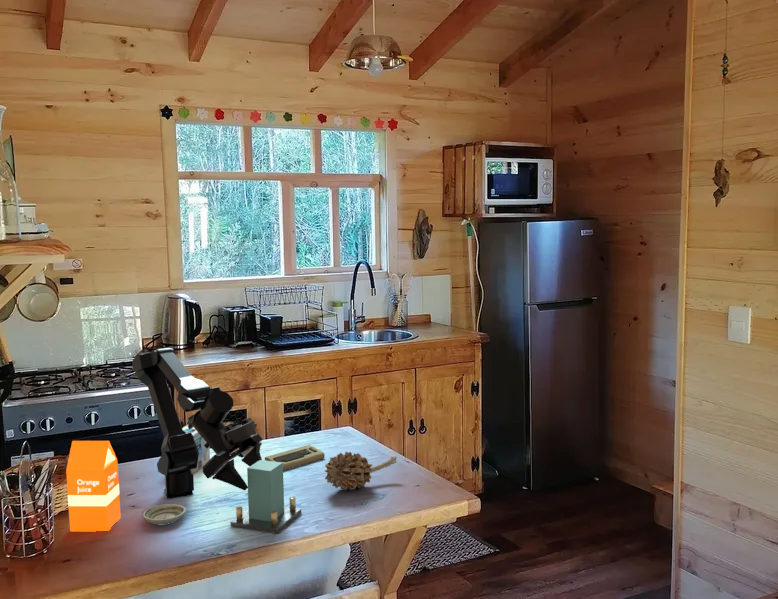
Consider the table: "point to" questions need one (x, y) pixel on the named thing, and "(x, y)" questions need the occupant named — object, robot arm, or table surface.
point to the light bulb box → (199, 448)
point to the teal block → (265, 489)
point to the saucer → (164, 513)
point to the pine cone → (351, 470)
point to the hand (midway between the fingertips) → (256, 482)
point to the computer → (297, 456)
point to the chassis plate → (267, 526)
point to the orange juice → (92, 486)
